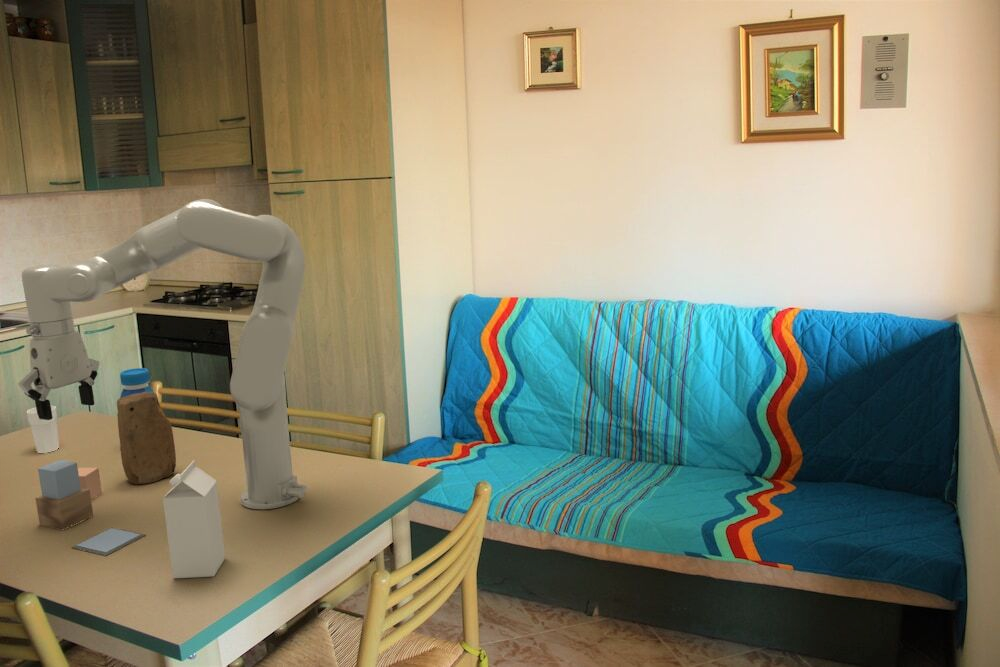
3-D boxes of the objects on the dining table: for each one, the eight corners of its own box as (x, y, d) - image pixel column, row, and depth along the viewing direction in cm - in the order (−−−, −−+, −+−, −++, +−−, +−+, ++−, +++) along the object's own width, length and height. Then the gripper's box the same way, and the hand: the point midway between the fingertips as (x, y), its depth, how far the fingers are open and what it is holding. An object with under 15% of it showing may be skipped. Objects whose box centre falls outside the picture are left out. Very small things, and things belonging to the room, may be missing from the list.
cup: (36, 448, 217) (29, 407, 215) (64, 444, 219) (58, 404, 217) (30, 456, 211) (24, 414, 209) (59, 452, 213) (53, 411, 211)
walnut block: (93, 516, 173) (89, 489, 172) (63, 530, 167) (59, 502, 165) (69, 512, 176) (65, 485, 175) (39, 525, 170) (35, 497, 168)
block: (132, 488, 187) (120, 402, 183) (122, 479, 193) (111, 396, 189) (180, 475, 194) (170, 392, 190) (170, 467, 199) (160, 386, 195)
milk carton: (225, 558, 152) (214, 459, 148) (214, 577, 145) (201, 474, 141) (186, 560, 152) (174, 461, 148) (172, 579, 145) (159, 476, 141)
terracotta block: (101, 493, 185) (98, 467, 184) (88, 502, 180) (85, 476, 179) (80, 493, 186) (76, 467, 184) (67, 502, 181) (63, 476, 180)
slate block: (80, 490, 171) (76, 462, 170) (59, 499, 167) (55, 471, 166) (64, 487, 173) (59, 460, 172) (42, 496, 169) (37, 468, 168)
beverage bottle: (168, 443, 217) (159, 368, 213) (139, 453, 210) (129, 376, 206) (148, 438, 221) (138, 365, 217) (119, 448, 214) (108, 373, 210)
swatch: (145, 535, 163) (145, 533, 163) (106, 556, 154) (105, 554, 154) (111, 528, 166) (111, 526, 166) (71, 548, 158) (71, 546, 158)
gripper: (25, 338, 155) (41, 426, 159) (103, 320, 170) (116, 400, 174) (-2, 337, 158) (15, 423, 162) (77, 319, 173) (90, 398, 177)
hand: (67, 411), depth 168 cm, fingers open, 9 cm apart
